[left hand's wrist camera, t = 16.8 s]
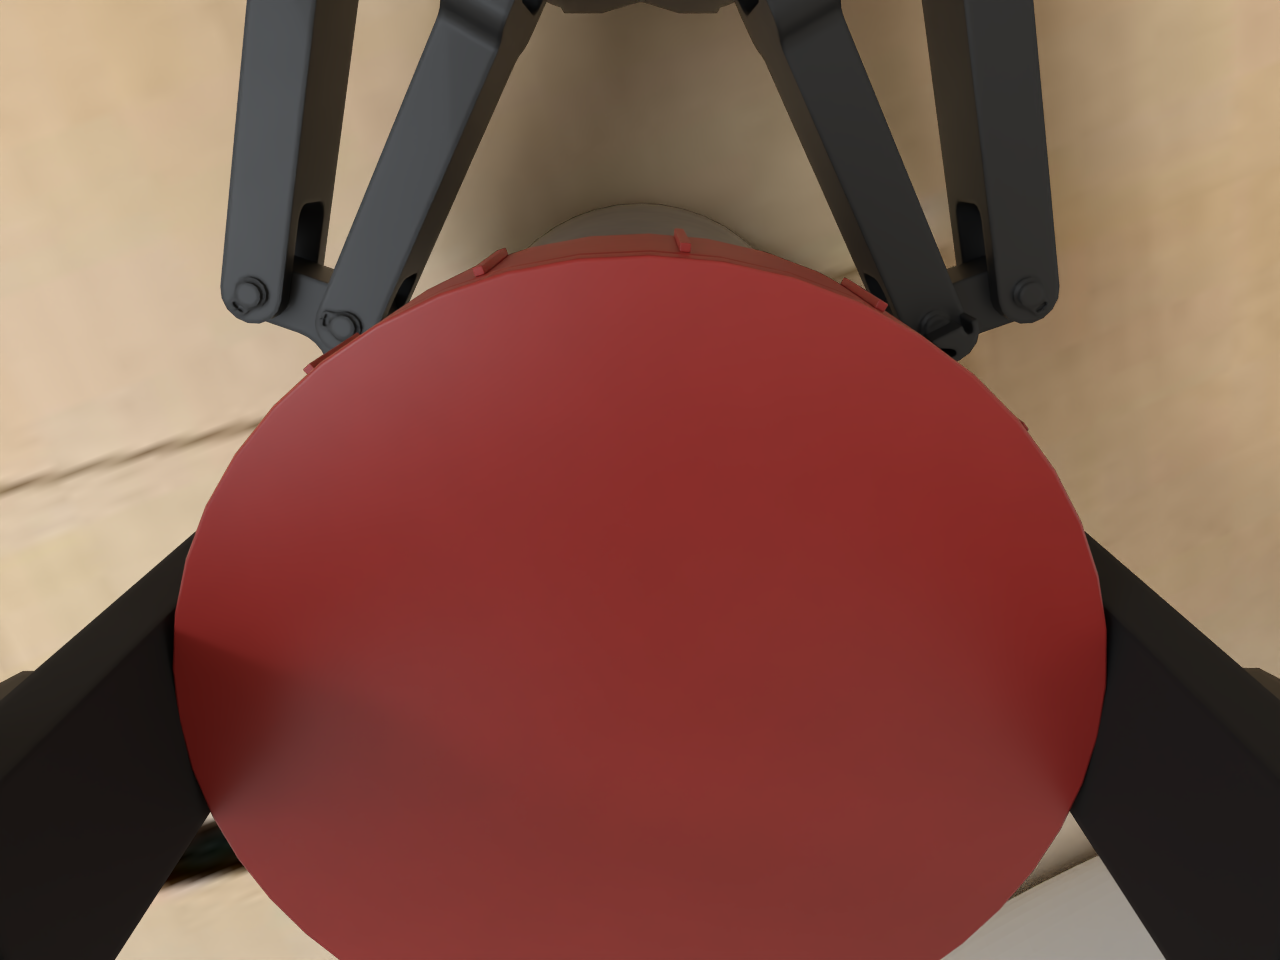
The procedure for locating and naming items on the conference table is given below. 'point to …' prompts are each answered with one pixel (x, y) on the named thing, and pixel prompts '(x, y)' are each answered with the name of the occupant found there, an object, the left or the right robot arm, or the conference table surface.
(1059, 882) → the projector
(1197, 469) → the conference table surface
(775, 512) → the lid
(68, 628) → the conference table surface
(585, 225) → the jar
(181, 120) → the conference table surface
